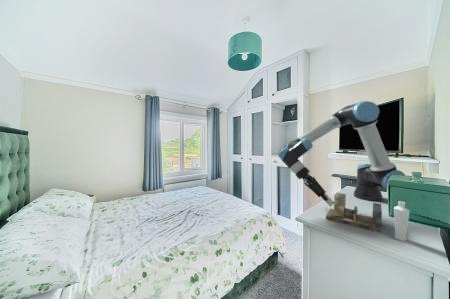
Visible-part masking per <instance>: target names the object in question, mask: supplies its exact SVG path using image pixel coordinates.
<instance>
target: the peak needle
mask: <svg viewBox="0 0 450 299" xmlns="http://www.w3.org/2000/svg"><path fill="white" fill-rule="evenodd" d="M353 210H354V221H355V220H356V218H357V214H358V206H356V205H355V206H354V208H353Z"/></svg>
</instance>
